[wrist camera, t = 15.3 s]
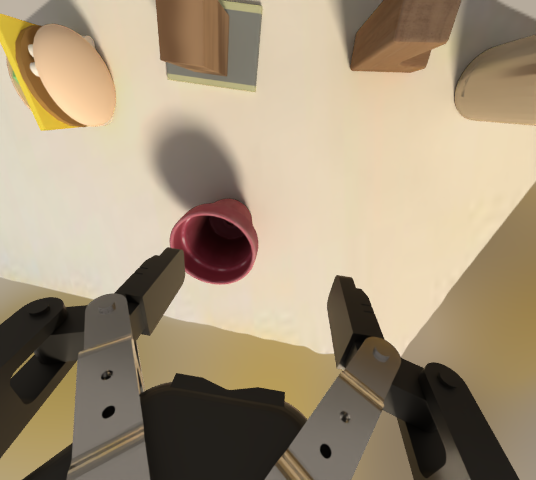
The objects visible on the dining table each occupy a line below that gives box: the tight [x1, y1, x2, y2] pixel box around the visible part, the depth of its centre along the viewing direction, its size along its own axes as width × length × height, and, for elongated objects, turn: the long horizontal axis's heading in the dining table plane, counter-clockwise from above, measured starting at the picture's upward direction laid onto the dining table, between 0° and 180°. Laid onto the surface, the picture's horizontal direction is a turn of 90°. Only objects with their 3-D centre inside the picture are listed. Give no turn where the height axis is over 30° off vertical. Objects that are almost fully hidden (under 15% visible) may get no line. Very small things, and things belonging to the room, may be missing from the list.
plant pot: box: [170, 199, 258, 284], centre depth 44 cm, size 14×14×13 cm
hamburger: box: [0, 14, 116, 131], centre depth 34 cm, size 12×8×12 cm
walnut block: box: [156, 0, 229, 77], centre depth 30 cm, size 5×7×11 cm
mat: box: [166, 0, 262, 92], centre depth 35 cm, size 14×10×1 cm
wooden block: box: [350, 0, 461, 73], centre depth 26 cm, size 9×4×18 cm, turn 88°
